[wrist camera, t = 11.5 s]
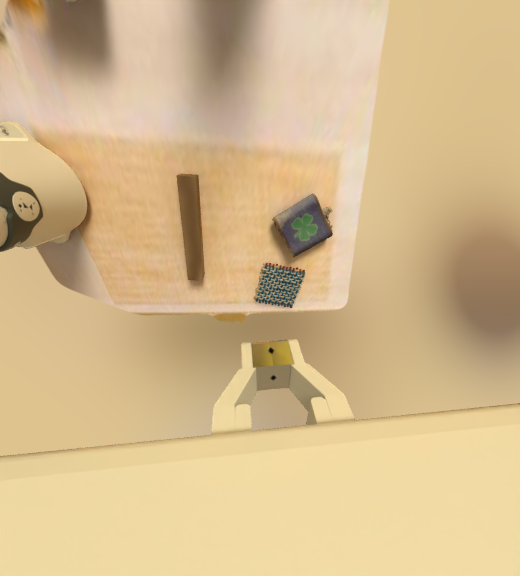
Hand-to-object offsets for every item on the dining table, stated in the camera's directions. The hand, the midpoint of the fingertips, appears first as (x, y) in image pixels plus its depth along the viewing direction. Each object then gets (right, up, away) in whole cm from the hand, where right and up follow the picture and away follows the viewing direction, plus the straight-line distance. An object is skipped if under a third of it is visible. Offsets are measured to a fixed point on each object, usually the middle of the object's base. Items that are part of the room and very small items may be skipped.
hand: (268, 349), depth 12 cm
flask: (+5, +15, +36) cm, 39 cm away
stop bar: (-14, +15, +33) cm, 39 cm away
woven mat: (+4, +5, +42) cm, 42 cm away
